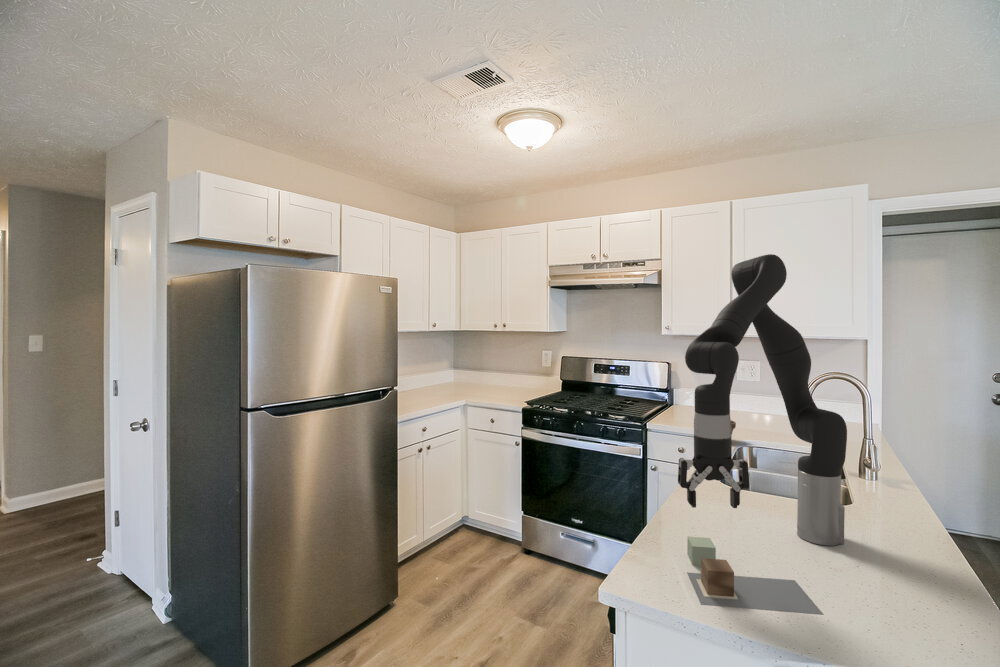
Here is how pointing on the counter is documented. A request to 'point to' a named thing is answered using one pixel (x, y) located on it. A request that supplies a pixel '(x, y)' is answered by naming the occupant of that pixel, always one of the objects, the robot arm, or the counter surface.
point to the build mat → (759, 595)
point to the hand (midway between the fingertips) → (713, 506)
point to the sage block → (700, 549)
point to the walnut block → (717, 577)
